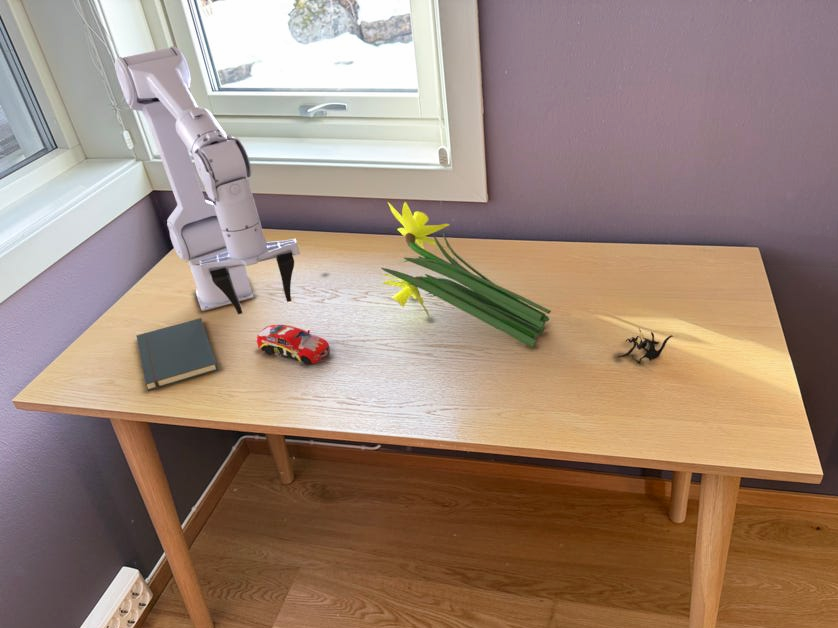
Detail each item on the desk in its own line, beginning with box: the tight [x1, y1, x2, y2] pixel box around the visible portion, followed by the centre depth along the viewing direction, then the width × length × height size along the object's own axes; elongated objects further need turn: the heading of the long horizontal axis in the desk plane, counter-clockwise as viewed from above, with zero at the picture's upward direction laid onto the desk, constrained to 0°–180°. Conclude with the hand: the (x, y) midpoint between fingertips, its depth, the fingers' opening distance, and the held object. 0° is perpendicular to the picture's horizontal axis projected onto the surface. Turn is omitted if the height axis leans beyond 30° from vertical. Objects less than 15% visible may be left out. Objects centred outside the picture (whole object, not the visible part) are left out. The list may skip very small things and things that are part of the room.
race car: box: [256, 324, 331, 366], centre depth 126 cm, size 13×5×4 cm, turn 63°
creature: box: [618, 328, 674, 364], centre depth 120 cm, size 8×5×8 cm
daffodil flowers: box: [378, 201, 552, 348], centre depth 130 cm, size 17×15×35 cm
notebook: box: [136, 317, 219, 392], centre depth 128 cm, size 11×16×1 cm
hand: (264, 305), depth 120 cm, fingers open, 7 cm apart
